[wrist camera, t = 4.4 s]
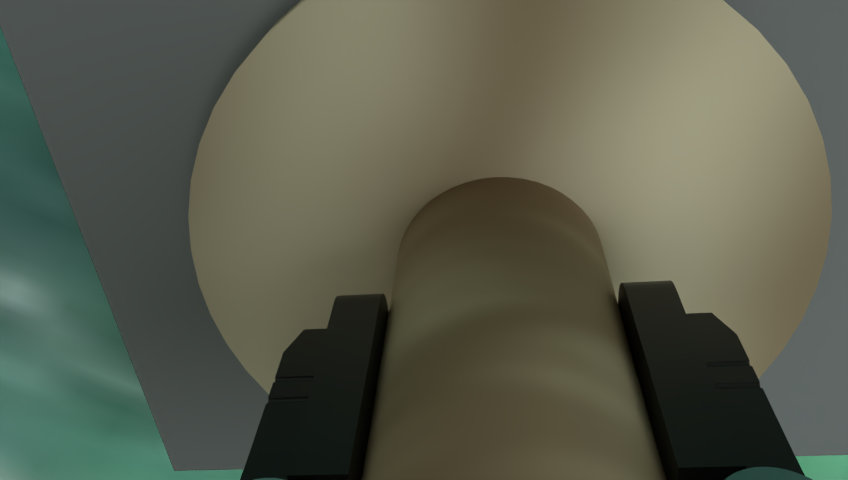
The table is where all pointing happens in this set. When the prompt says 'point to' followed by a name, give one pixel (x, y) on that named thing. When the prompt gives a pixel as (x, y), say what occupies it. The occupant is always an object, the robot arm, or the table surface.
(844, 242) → the mat
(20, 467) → the table surface
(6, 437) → the table surface
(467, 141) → the lid
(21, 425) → the table surface
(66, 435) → the table surface
